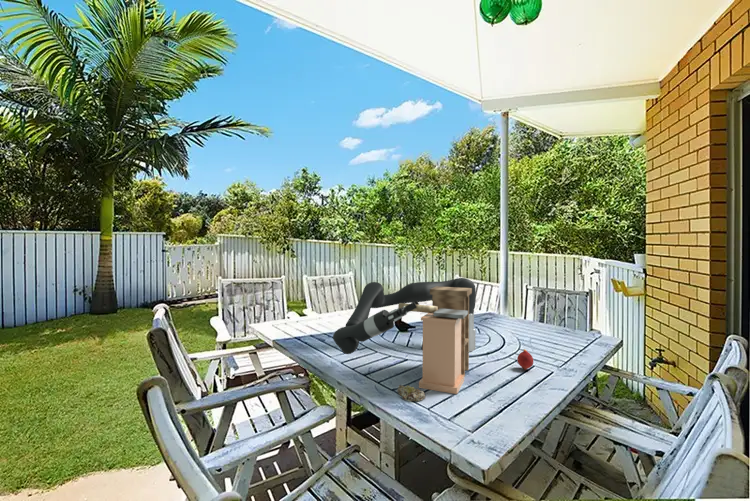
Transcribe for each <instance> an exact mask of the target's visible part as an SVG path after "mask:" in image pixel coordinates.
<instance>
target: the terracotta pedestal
mask: <svg viewBox="0 0 750 501" xmlns="http://www.w3.org/2000/svg"><path fill="white" fill-rule="evenodd" d="M433 314H434V313H425V314H424V315H422V316H421V317H420V321H421V322H422V377H421V379H420V380H419V381H418V389H424V390H432V391H436V392H441V393H449V394H455V395H458V394H459V392H460V390H461V387H462V385H463V384H464V382H465V377H464V375H461V319H459V318H449V317H439V316H433Z"/></svg>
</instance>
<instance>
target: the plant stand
mask: <svg viewBox="0 0 750 501" xmlns="http://www.w3.org/2000/svg"><path fill="white" fill-rule="evenodd" d="M471 293H472V288H459V287H439V286H436V287H434V288H432V289H430V294H432V300H431V303H432V304H431V306H437V307H438V309H440V308H443V309H454V310H466V311H468V314H467V316H466V317H465V318H464V319H461V375H464V378H465V377H466V371H467V372H468V371H469V369H470V368H469V367H470V363H469V362H470V352H469V295H470V294H471Z"/></svg>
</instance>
